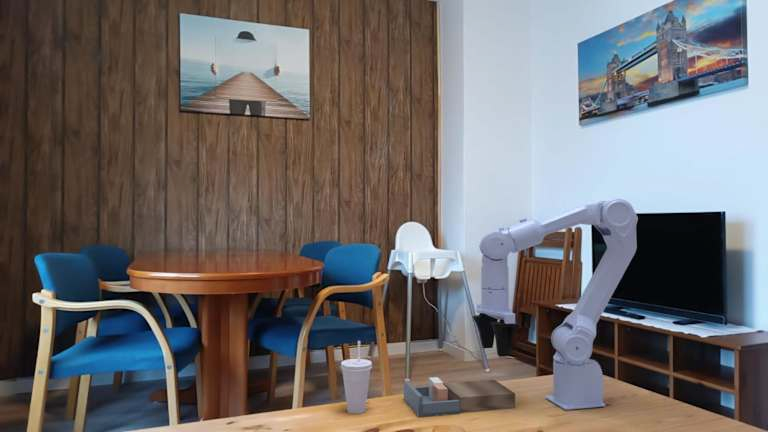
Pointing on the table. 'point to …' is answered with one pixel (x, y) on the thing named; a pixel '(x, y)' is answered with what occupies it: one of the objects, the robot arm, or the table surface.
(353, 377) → the smoothie
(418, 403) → the tray
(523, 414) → the table surface
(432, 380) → the tile cream
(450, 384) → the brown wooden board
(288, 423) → the table surface
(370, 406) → the table surface
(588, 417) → the table surface
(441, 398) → the tile terracotta
